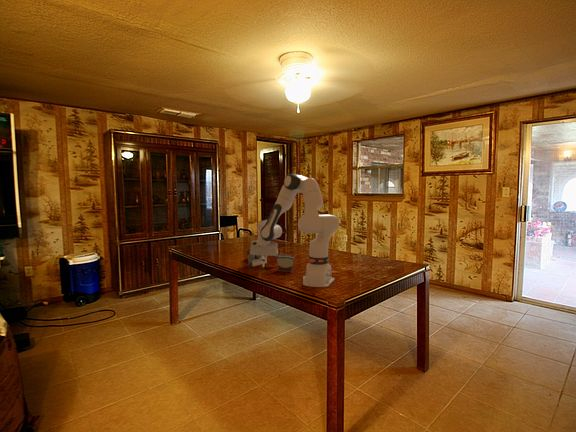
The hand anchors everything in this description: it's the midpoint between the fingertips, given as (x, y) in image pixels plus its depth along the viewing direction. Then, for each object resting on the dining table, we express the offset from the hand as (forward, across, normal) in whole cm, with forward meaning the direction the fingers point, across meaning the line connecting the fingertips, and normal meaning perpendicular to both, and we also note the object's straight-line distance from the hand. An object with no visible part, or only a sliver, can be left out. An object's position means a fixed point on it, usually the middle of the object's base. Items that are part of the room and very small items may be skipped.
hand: (264, 261), depth 220 cm
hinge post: (+2, +7, +10) cm, 12 cm away
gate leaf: (+2, +3, +2) cm, 4 cm away
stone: (+3, +14, -18) cm, 23 cm away
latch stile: (+2, +11, -4) cm, 12 cm away
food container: (+3, -19, +10) cm, 22 cm away
